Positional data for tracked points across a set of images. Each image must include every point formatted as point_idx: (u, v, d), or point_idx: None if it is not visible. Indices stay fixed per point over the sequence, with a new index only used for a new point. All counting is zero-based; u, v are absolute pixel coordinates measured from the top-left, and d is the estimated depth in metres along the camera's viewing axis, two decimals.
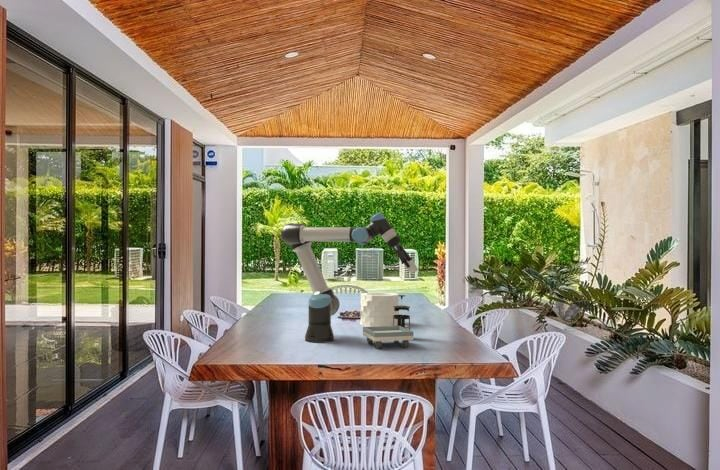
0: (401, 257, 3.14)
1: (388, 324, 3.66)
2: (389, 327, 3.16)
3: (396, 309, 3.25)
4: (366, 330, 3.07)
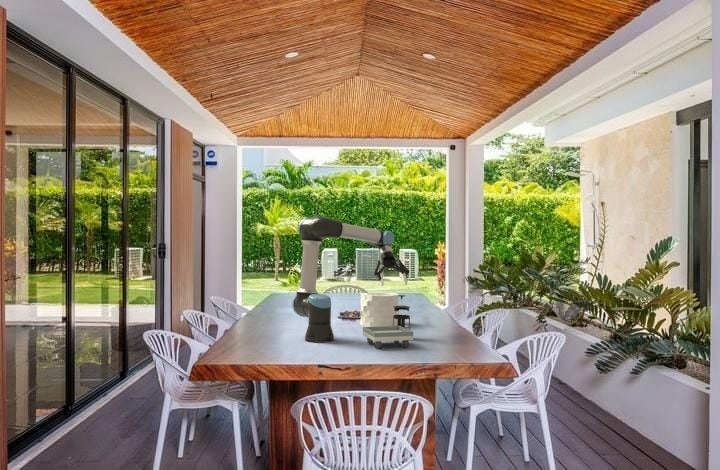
0: None
1: (388, 324, 3.66)
2: (389, 327, 3.16)
3: (396, 309, 3.25)
4: (366, 330, 3.07)
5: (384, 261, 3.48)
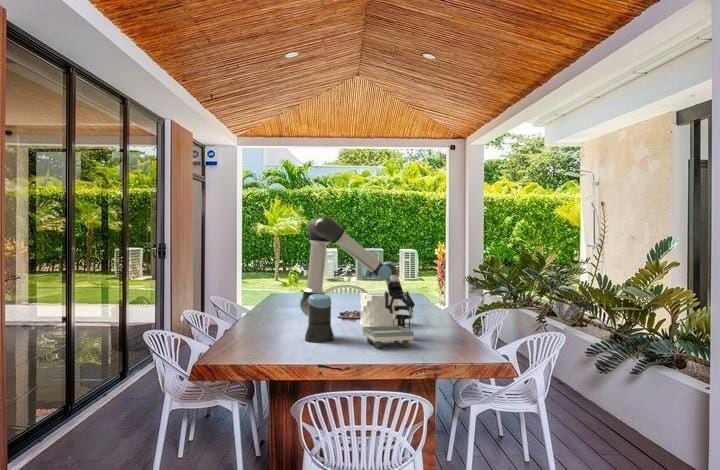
0: None
1: (388, 324, 3.66)
2: (389, 327, 3.16)
3: (396, 309, 3.25)
4: (366, 330, 3.07)
5: (391, 291, 3.35)
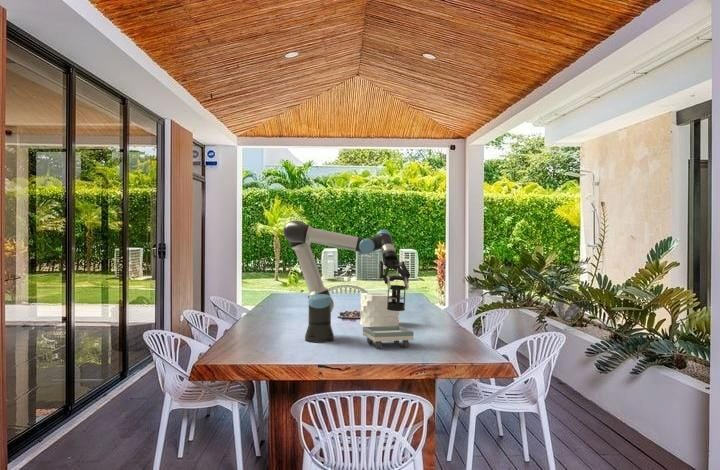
0: None
1: (388, 324, 3.66)
2: (389, 327, 3.16)
3: (391, 279, 3.10)
4: (366, 330, 3.07)
5: (386, 261, 3.20)
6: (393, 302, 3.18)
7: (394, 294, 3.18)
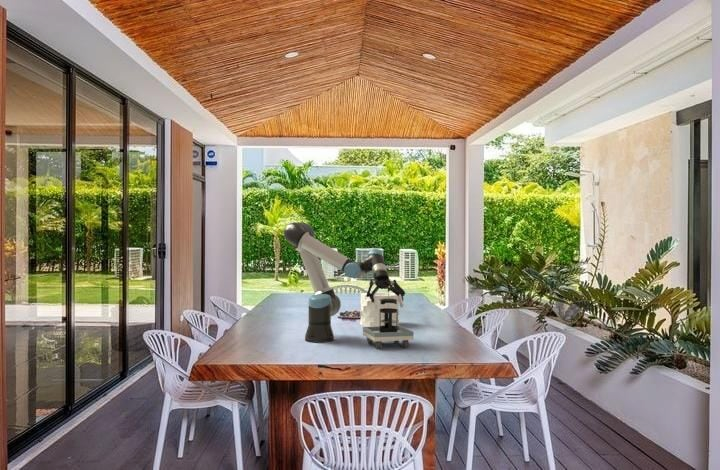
0: None
1: None
2: None
3: (383, 302, 3.03)
4: (366, 330, 3.07)
5: (377, 281, 3.13)
6: (386, 326, 3.10)
7: (386, 317, 3.10)
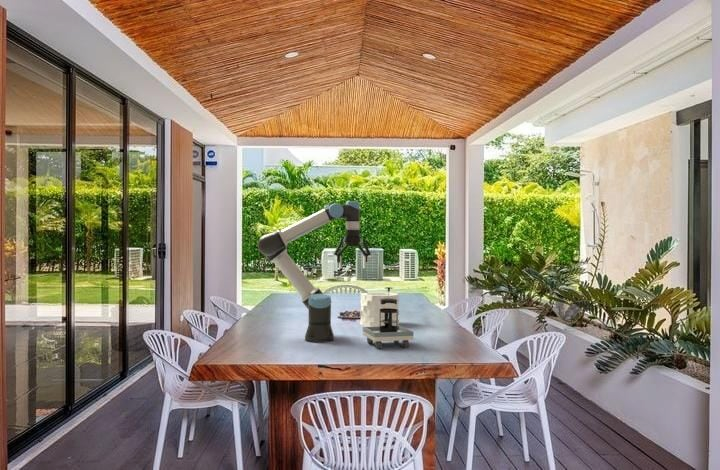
0: None
1: None
2: None
3: (383, 302, 3.03)
4: (366, 330, 3.07)
5: (347, 239, 3.32)
6: (386, 326, 3.10)
7: (386, 318, 3.10)
